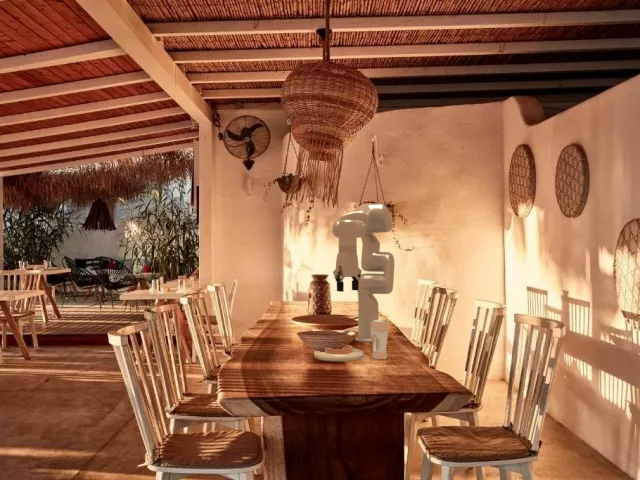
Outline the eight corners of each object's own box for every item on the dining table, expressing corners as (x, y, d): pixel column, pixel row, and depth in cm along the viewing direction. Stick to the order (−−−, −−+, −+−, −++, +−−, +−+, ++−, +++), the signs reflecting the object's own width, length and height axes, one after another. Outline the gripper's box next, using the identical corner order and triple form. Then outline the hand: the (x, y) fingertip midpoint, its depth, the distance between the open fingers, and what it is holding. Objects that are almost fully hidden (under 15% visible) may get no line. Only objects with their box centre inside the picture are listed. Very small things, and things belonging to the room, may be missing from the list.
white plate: (349, 350, 260) (349, 341, 260) (371, 358, 241) (371, 348, 241) (306, 354, 252) (306, 344, 252) (326, 363, 233) (326, 352, 233)
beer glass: (368, 358, 242) (367, 321, 242) (374, 355, 248) (374, 319, 248) (384, 360, 239) (384, 322, 239) (390, 357, 245) (390, 320, 245)
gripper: (353, 249, 260) (353, 289, 260) (327, 249, 247) (327, 291, 247) (367, 249, 255) (367, 290, 255) (341, 249, 242) (341, 292, 242)
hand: (347, 290), depth 251 cm, fingers open, 9 cm apart
